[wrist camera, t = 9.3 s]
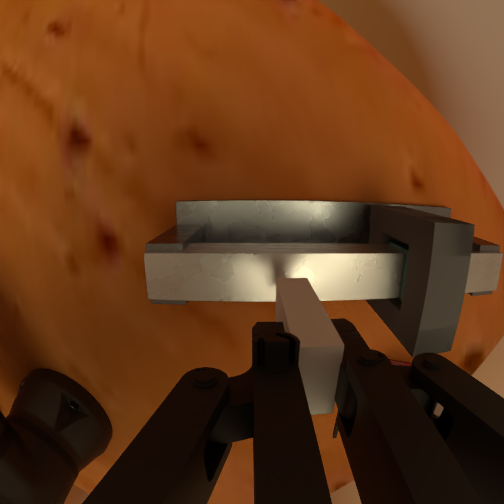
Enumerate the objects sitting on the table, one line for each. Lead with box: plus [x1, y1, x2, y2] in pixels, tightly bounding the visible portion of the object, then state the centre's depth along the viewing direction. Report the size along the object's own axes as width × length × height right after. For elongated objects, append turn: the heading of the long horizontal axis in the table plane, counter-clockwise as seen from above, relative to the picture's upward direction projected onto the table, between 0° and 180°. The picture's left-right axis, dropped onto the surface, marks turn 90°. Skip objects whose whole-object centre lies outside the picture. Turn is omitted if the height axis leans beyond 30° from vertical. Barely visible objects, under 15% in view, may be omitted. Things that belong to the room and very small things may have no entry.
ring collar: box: [365, 205, 474, 357], centre depth 20 cm, size 3×8×10 cm, turn 0°
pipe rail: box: [144, 200, 503, 305], centre depth 23 cm, size 26×8×10 cm, turn 90°
